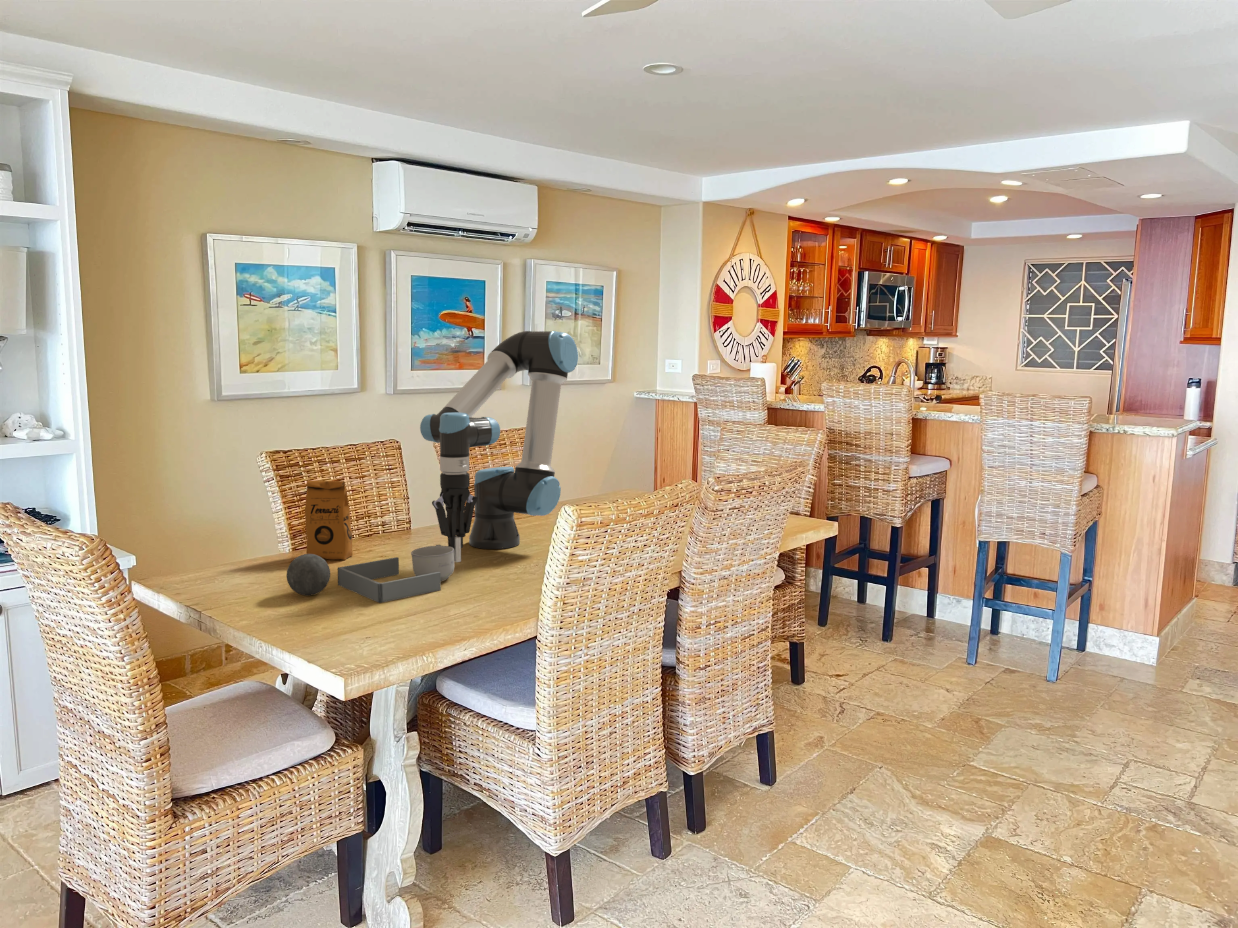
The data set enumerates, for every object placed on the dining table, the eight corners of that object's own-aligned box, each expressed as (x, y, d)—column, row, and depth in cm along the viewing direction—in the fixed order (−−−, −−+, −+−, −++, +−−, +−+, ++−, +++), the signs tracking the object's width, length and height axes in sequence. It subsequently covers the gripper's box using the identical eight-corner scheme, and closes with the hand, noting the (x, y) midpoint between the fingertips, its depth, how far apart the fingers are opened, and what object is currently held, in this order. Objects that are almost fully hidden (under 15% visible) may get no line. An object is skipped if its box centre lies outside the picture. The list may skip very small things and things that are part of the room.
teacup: (445, 586, 233) (444, 555, 232) (404, 583, 235) (404, 552, 234) (464, 572, 247) (464, 543, 246) (426, 570, 249) (425, 540, 248)
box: (397, 573, 245) (397, 557, 244) (440, 589, 230) (440, 572, 230) (338, 584, 234) (337, 567, 233) (379, 602, 219) (379, 584, 218)
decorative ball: (327, 599, 221) (326, 558, 219) (283, 601, 219) (282, 559, 218) (333, 588, 231) (332, 548, 229) (291, 589, 229) (289, 549, 228)
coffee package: (345, 562, 256) (343, 483, 253) (301, 561, 257) (298, 482, 254) (358, 554, 266) (356, 478, 263) (315, 552, 267) (313, 476, 264)
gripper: (441, 476, 234) (442, 567, 238) (483, 471, 243) (484, 559, 247) (425, 472, 240) (426, 562, 243) (467, 468, 249) (467, 554, 252)
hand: (455, 560), depth 245 cm, fingers closed
